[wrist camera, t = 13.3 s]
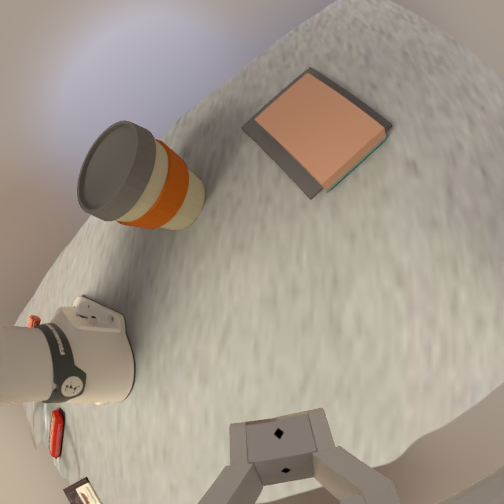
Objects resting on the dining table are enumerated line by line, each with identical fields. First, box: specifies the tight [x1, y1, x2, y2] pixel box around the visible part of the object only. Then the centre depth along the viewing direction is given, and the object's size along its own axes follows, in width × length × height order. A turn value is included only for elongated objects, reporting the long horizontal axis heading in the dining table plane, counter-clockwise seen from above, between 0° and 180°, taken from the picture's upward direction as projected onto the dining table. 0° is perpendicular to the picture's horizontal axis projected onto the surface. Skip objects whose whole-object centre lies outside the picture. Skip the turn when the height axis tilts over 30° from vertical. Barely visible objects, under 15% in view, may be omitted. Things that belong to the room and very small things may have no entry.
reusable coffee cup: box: [77, 121, 205, 230], centre depth 40 cm, size 13×13×15 cm
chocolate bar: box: [63, 477, 102, 504], centre depth 48 cm, size 9×1×18 cm
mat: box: [242, 67, 392, 200], centre depth 39 cm, size 16×14×1 cm
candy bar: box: [49, 409, 63, 459], centre depth 54 cm, size 16×4×3 cm, turn 157°
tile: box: [254, 73, 387, 193], centre depth 37 cm, size 2×10×14 cm
